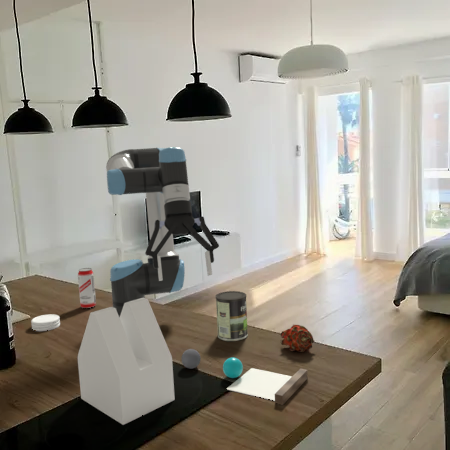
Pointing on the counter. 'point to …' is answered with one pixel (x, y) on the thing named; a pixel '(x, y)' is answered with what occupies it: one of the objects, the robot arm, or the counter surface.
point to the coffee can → (231, 315)
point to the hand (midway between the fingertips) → (185, 277)
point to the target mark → (259, 383)
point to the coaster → (45, 322)
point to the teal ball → (232, 367)
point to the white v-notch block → (125, 362)
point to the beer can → (86, 288)
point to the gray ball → (191, 358)
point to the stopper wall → (291, 386)
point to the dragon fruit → (297, 338)
